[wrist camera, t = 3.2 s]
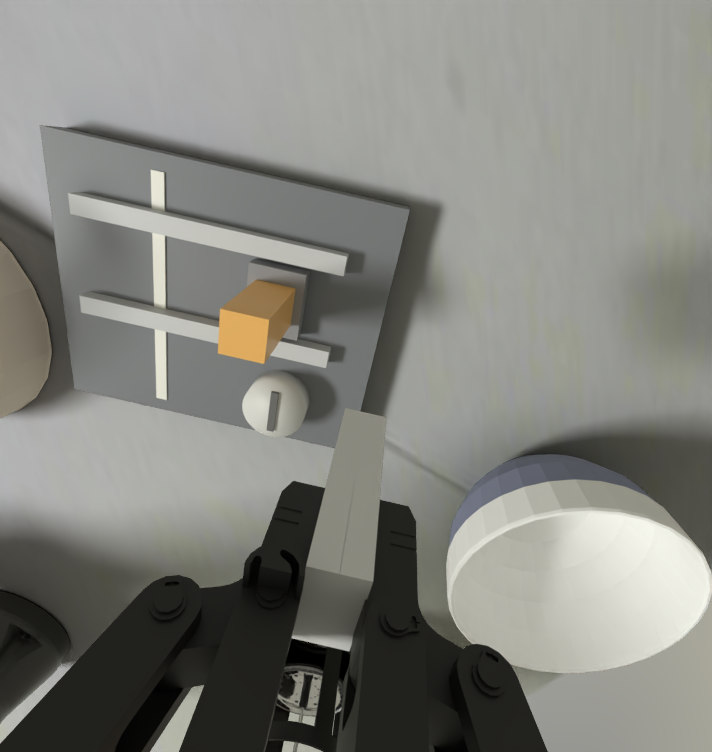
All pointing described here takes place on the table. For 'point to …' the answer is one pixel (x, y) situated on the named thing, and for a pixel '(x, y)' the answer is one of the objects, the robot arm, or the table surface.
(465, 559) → the bowl
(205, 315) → the console board
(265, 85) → the table surface
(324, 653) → the french press
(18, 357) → the kettle
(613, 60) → the table surface
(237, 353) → the fader tab
